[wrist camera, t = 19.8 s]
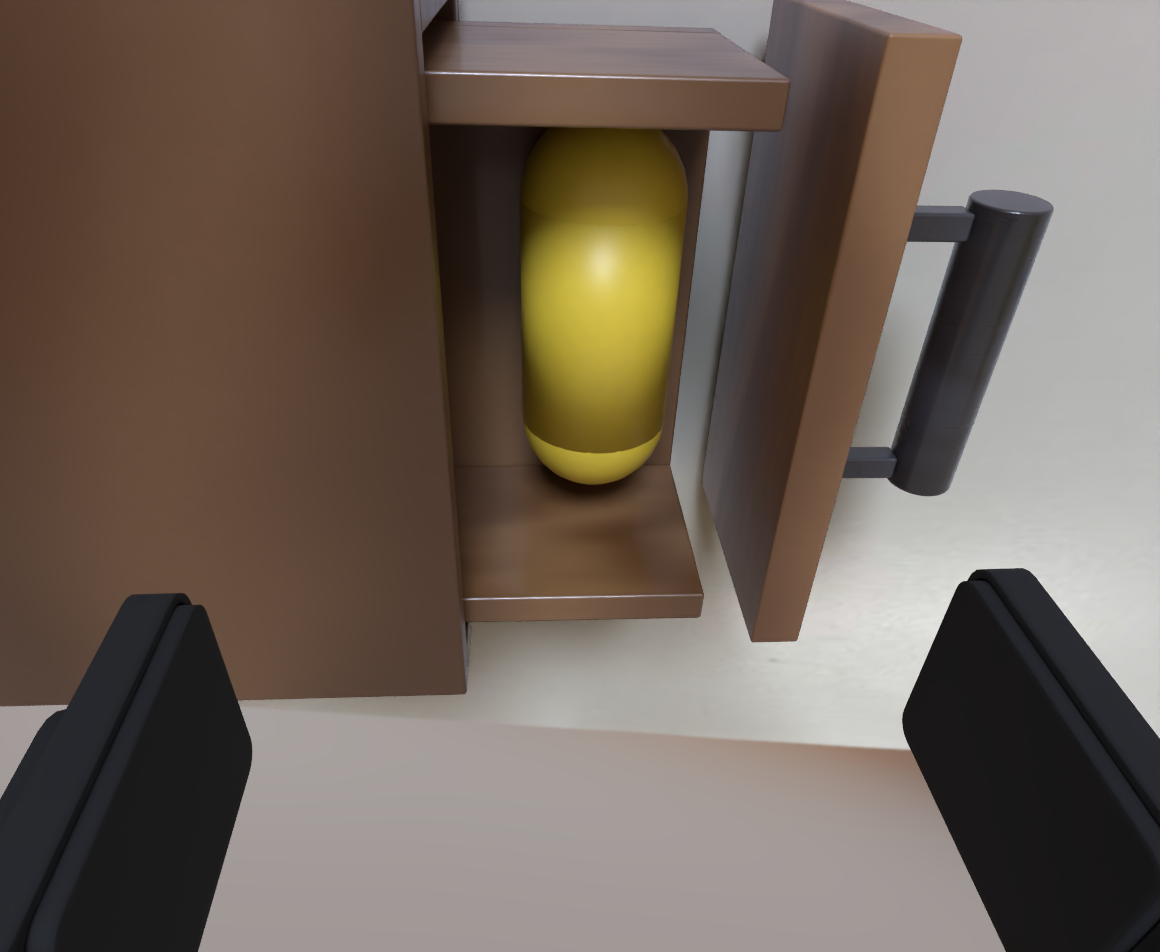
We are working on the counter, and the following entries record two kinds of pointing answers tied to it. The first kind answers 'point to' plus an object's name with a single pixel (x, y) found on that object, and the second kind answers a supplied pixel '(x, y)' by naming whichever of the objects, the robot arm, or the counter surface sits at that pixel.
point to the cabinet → (225, 343)
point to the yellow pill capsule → (599, 296)
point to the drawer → (755, 310)
